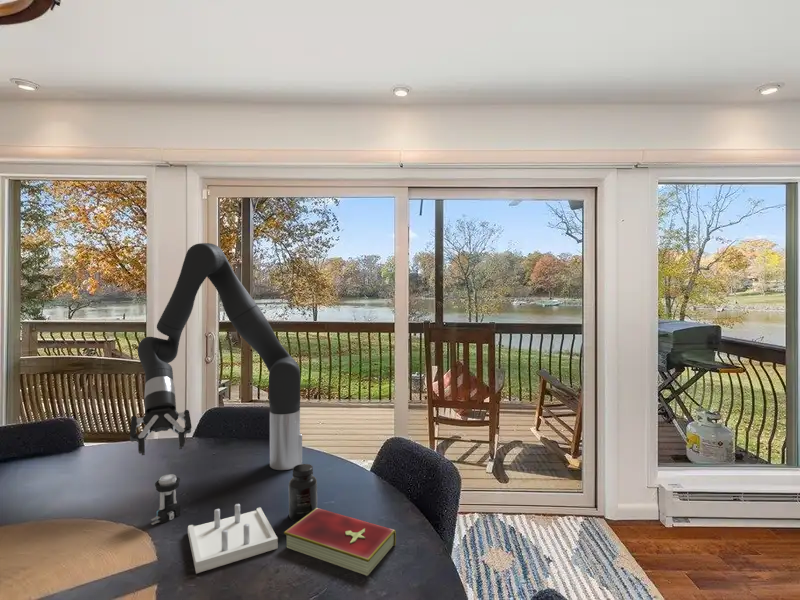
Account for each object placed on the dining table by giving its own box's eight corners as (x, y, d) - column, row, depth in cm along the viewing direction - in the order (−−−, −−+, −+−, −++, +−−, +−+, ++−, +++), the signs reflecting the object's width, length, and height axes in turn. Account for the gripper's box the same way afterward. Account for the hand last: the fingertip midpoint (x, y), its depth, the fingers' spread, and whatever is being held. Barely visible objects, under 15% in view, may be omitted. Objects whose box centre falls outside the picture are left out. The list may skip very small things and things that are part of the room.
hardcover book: (317, 522, 104) (317, 505, 104) (395, 546, 95) (396, 527, 95) (283, 550, 93) (283, 530, 93) (368, 579, 84) (368, 558, 84)
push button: (158, 529, 100) (158, 486, 100) (145, 523, 103) (144, 481, 102) (185, 516, 106) (184, 475, 105) (171, 510, 108) (171, 471, 108)
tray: (259, 514, 107) (259, 493, 107) (277, 548, 93) (277, 524, 93) (187, 533, 99) (187, 510, 98) (196, 573, 85) (195, 547, 85)
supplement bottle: (322, 511, 109) (322, 464, 108) (307, 525, 102) (308, 475, 102) (298, 506, 111) (298, 460, 110) (283, 520, 104) (282, 471, 104)
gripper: (129, 392, 116) (129, 449, 106) (189, 386, 123) (193, 439, 114) (130, 407, 120) (130, 463, 111) (187, 400, 128) (191, 452, 118)
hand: (162, 450), depth 112 cm, fingers open, 8 cm apart
